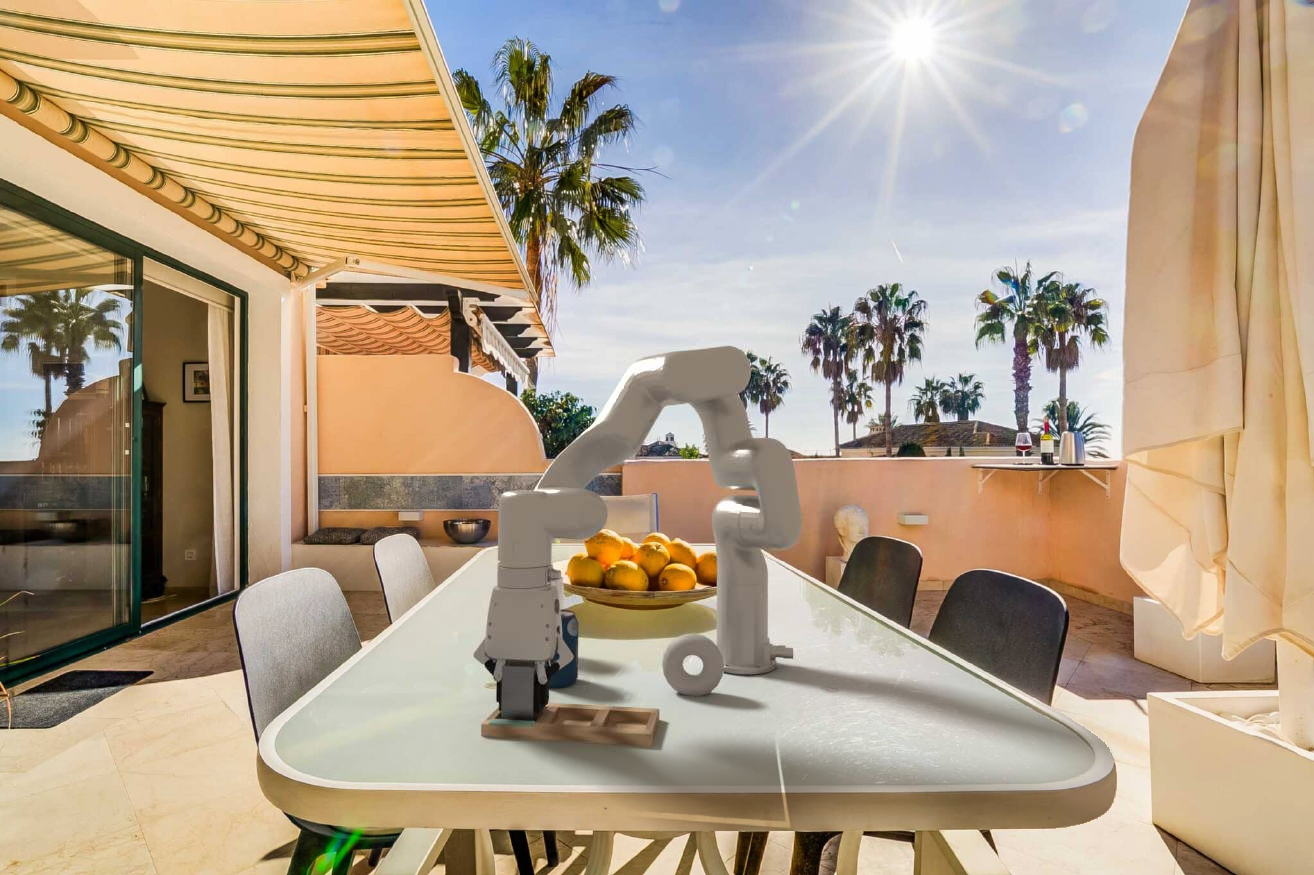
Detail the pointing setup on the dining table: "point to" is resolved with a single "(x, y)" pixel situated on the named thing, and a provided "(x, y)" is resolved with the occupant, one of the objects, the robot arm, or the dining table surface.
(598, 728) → the tray
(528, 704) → the block
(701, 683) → the donut
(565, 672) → the soda can
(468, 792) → the dining table surface
